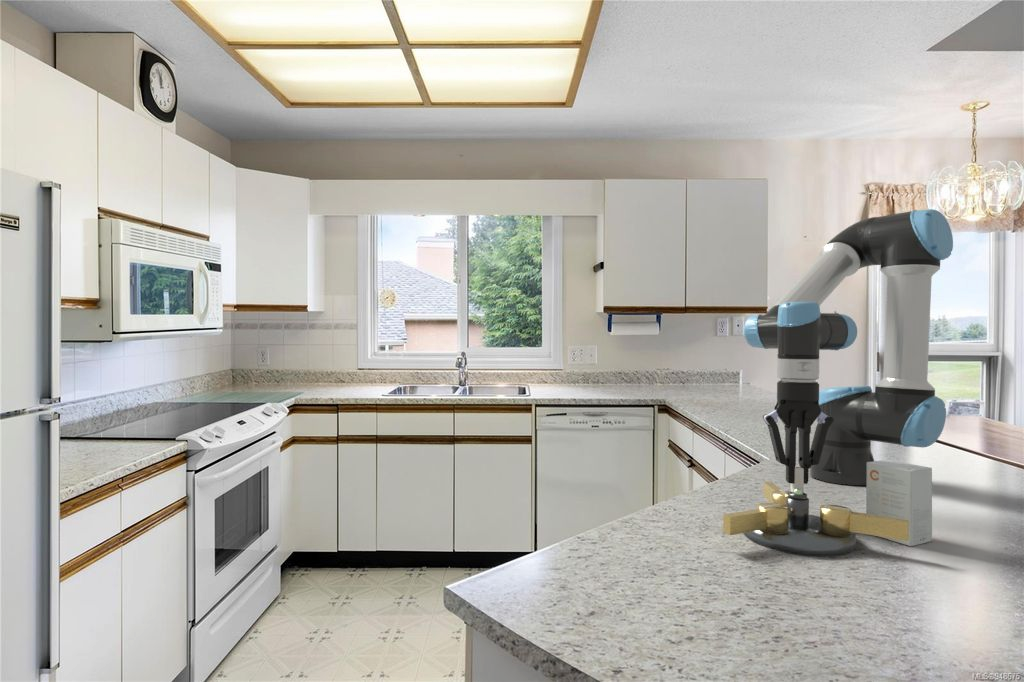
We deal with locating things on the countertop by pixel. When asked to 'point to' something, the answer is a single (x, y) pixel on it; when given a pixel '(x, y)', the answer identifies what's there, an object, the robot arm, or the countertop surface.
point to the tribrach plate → (804, 533)
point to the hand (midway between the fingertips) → (796, 499)
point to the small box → (901, 496)
